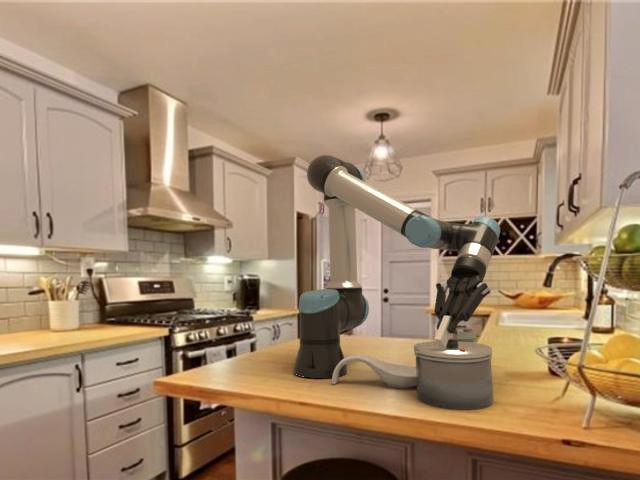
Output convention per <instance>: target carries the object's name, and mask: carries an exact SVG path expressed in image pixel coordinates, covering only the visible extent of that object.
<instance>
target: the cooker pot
mask: <svg viewBox="0 0 640 480" xmlns="http://www.w3.org/2000/svg"><path fill="white" fill-rule="evenodd" d="M414 356H415V368H416V378H417V385H416V397H417V400H418V401H420V402H421V403H423V404H425V405H429V406H432V407H436V408H440V409H445V410H455V411H458V410H460V411H472V410H481V409H482V410H483V409H485V408H488V407H491V406H492V405H493V404H494V391H493V389H494V388H493V387H494V386H493V375H492V374H493V373H492V372H493V370H492V356H493V353H492V354H491V355H490V356H487V357H482V358H473V359H448V358H436V357H429V356H424V355H420V354H417V353H416V352H414Z"/></svg>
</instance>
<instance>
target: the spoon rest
mask: <svg viewBox="0 0 640 480" xmlns="http://www.w3.org/2000/svg"><path fill="white" fill-rule="evenodd" d="M351 362H360V363H363V364H365V365H367V366H368V367H369V368H370V369H372V371H374V373H375V374H376V375H378V376H379V378H380V379H381V380H382V381H383V382H384V383H386V384H387V385H388V386H389V387H393V388H396V389H409V388H412V387H417V378H416V367H413V366H407V365H404V364H403V365H401V364H396V363H391V362H387V361H384V360H381V359H377V358H374V357H372V356H371V357H370V356H367V355H361V354H353V355H349V356H347V357H344V359H343V360H341V361H340V362H339V364H338V365H337V366H336V368H335V370H334V372H333V376H332V378H331V384H332V385H337V384H338V381H339V377H340V376H339V372H340V369H341V368H342V367H343V366H344V365H345V364H349V363H351Z"/></svg>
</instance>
